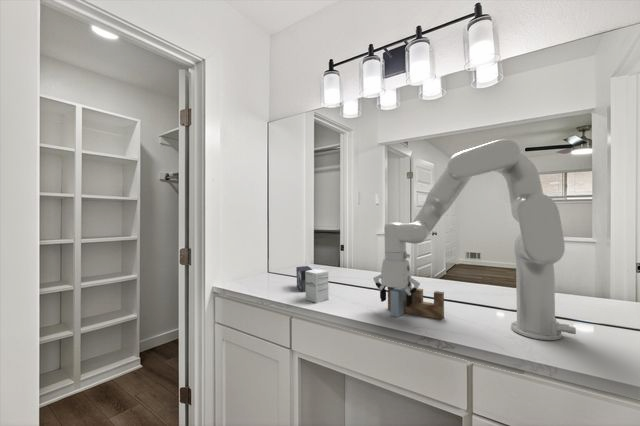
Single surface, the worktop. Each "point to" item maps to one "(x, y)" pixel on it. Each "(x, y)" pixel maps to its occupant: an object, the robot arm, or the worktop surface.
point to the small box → (302, 277)
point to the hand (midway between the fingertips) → (395, 303)
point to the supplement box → (316, 285)
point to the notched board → (423, 304)
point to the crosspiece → (397, 301)
